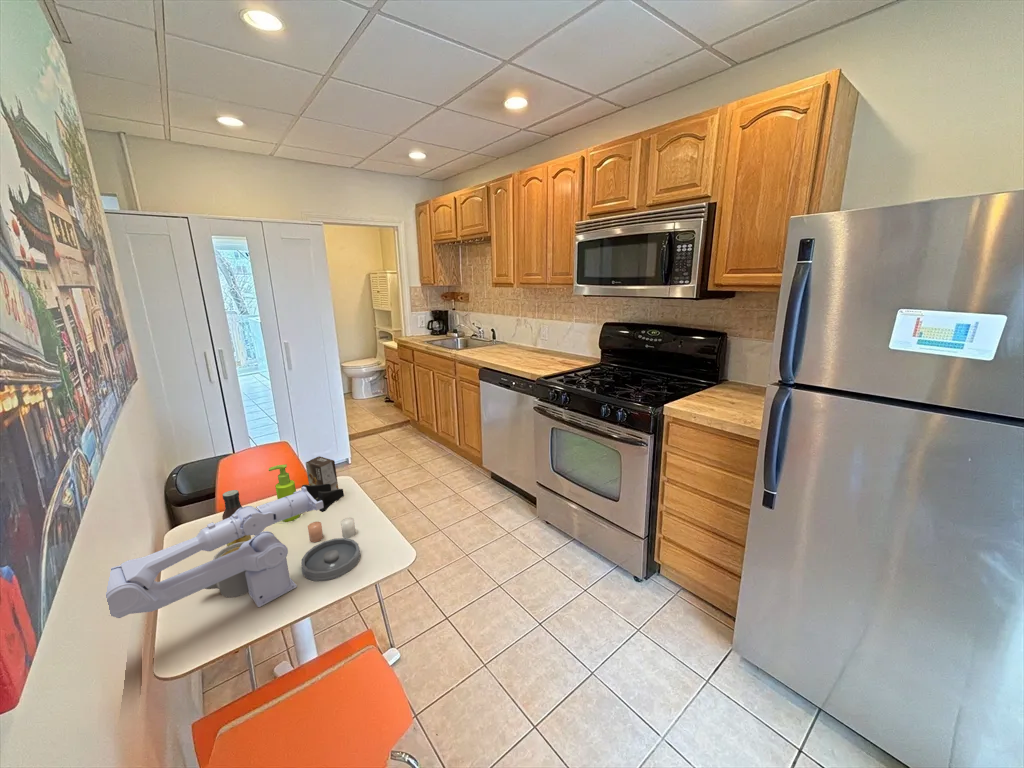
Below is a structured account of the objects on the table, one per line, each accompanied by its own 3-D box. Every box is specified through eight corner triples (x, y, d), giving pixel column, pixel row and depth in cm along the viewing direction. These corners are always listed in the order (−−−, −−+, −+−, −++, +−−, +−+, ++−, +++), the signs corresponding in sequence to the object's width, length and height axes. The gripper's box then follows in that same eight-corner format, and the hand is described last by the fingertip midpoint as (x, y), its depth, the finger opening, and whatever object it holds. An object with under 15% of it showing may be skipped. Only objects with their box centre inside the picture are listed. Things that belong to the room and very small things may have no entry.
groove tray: (316, 590, 109) (315, 582, 108) (292, 564, 119) (291, 556, 118) (370, 559, 120) (369, 552, 120) (344, 538, 130) (343, 531, 130)
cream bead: (346, 539, 130) (344, 526, 129) (340, 534, 132) (338, 521, 131) (357, 533, 133) (356, 520, 132) (351, 529, 135) (350, 516, 134)
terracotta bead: (313, 544, 128) (310, 530, 127) (307, 539, 130) (305, 525, 129) (325, 538, 131) (323, 524, 130) (320, 533, 133) (318, 520, 132)
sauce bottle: (241, 558, 122) (228, 500, 117) (223, 556, 123) (210, 498, 118) (258, 545, 128) (247, 489, 123) (241, 543, 129) (229, 487, 124)
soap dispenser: (278, 515, 144) (269, 464, 139) (300, 511, 147) (291, 460, 142) (277, 524, 139) (267, 471, 134) (299, 519, 142) (290, 467, 137)
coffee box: (340, 498, 155) (335, 460, 151) (326, 506, 149) (320, 467, 145) (324, 493, 159) (319, 455, 155) (310, 500, 154) (304, 462, 150)
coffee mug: (263, 566, 118) (257, 537, 115) (262, 588, 109) (255, 557, 107) (208, 583, 112) (200, 552, 109) (201, 607, 103) (193, 574, 101)
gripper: (296, 498, 103) (347, 481, 114) (275, 487, 113) (323, 472, 123) (300, 524, 104) (350, 504, 115) (278, 511, 114) (326, 494, 124)
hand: (336, 489), depth 119 cm, fingers open, 7 cm apart
